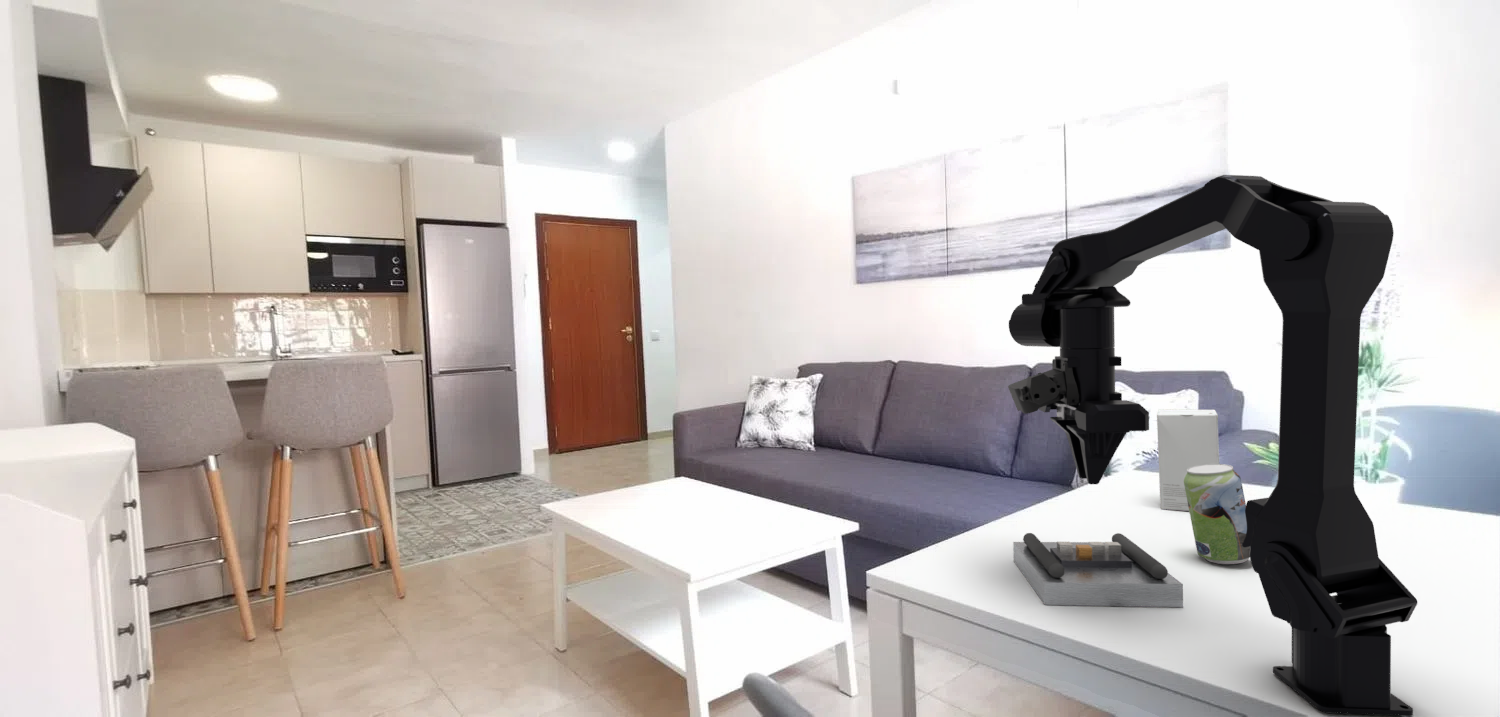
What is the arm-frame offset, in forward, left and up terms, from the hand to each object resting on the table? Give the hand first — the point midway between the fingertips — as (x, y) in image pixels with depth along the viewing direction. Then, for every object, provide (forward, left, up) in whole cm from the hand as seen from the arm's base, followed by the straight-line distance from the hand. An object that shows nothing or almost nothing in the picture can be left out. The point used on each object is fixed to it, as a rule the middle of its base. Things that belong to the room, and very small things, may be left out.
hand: (1088, 481), depth 80 cm
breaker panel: (0, 0, -12) cm, 12 cm away
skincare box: (+33, -26, -12) cm, 44 cm away
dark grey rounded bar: (0, +5, -10) cm, 11 cm away
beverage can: (+8, -18, -12) cm, 23 cm away
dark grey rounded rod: (0, -5, -10) cm, 11 cm away
